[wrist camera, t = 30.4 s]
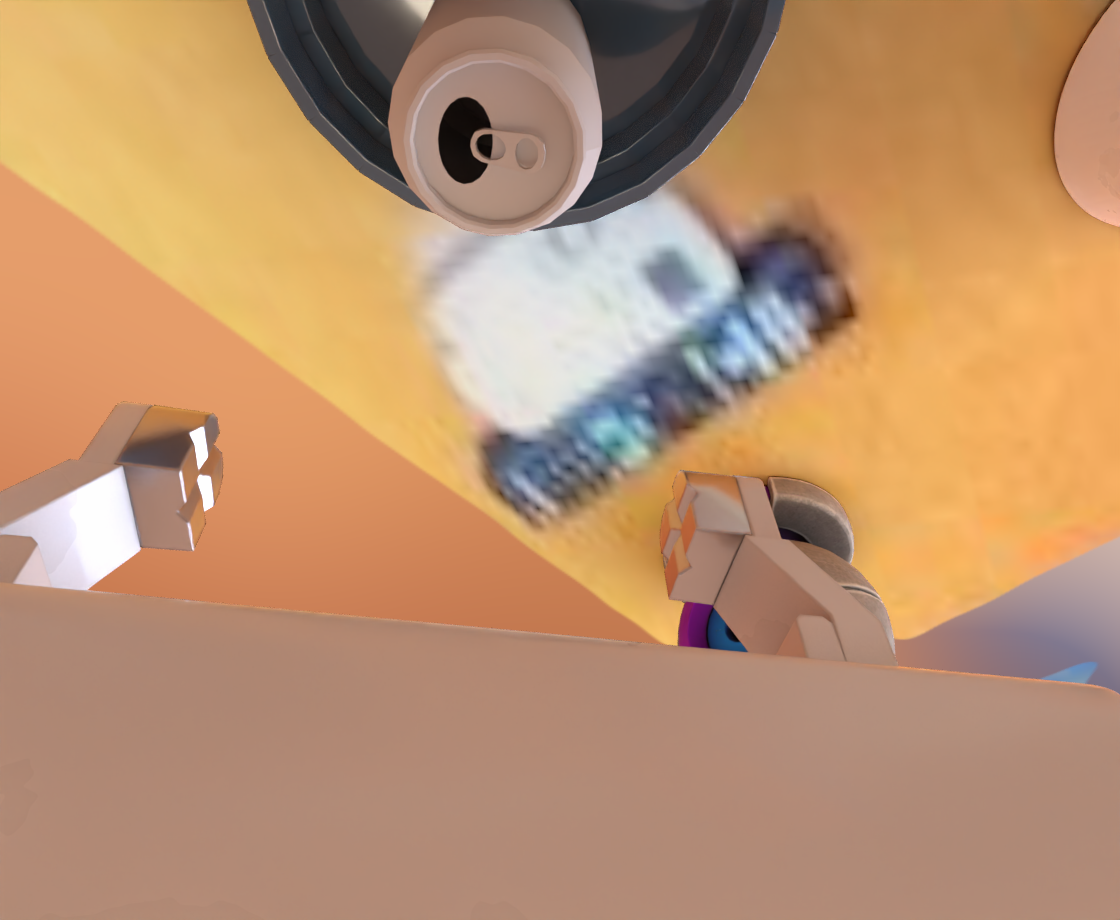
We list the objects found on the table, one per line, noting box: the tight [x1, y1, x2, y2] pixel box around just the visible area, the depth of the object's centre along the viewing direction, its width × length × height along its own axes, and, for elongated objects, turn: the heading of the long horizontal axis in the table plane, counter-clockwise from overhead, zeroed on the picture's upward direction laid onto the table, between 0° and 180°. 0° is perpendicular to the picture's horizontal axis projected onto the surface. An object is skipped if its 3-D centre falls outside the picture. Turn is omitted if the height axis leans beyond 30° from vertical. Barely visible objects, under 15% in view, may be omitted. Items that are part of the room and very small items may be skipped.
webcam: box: [663, 477, 895, 655], centre depth 52 cm, size 13×13×15 cm
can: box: [388, 0, 602, 236], centre depth 32 cm, size 8×8×12 cm
